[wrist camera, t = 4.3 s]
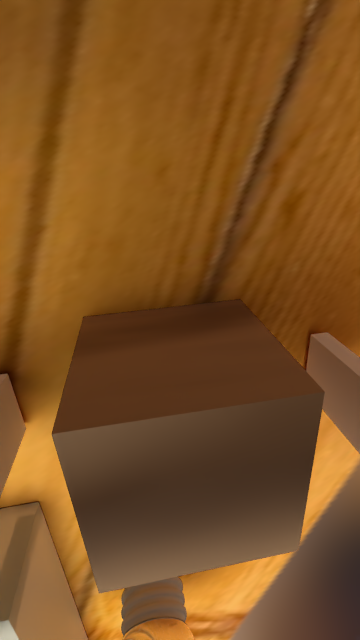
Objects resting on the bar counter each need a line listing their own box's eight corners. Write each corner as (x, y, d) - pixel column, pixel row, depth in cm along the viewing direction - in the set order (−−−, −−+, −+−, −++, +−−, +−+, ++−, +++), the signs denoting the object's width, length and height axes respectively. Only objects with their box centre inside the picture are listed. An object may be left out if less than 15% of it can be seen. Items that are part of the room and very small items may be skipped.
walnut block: (83, 316, 12) (51, 434, 7) (239, 298, 13) (324, 391, 7) (108, 437, 15) (99, 593, 9) (236, 416, 15) (298, 550, 10)
